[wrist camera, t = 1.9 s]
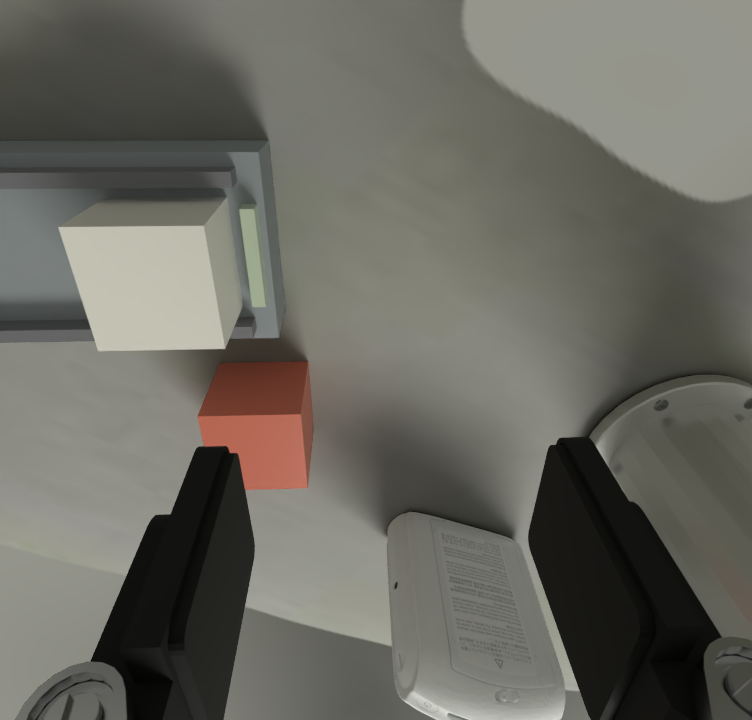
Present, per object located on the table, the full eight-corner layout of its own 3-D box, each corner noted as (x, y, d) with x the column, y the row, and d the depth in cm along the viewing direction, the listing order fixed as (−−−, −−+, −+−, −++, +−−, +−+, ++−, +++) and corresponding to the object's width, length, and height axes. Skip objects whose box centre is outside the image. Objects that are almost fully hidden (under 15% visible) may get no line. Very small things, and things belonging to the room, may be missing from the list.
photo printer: (376, 541, 38) (385, 734, 27) (400, 501, 36) (420, 694, 25) (497, 570, 40) (550, 759, 30) (526, 536, 38) (594, 724, 28)
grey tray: (268, 140, 23) (254, 156, 20) (285, 310, 28) (276, 348, 24) (-76, 140, 23) (-151, 158, 19) (-2, 314, 27) (-53, 353, 24)
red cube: (308, 360, 29) (300, 414, 25) (313, 429, 32) (307, 488, 28) (220, 362, 29) (197, 416, 25) (232, 430, 32) (214, 490, 28)
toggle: (227, 196, 21) (203, 225, 18) (242, 305, 24) (225, 348, 21) (105, 197, 21) (58, 226, 18) (134, 307, 24) (97, 351, 20)
